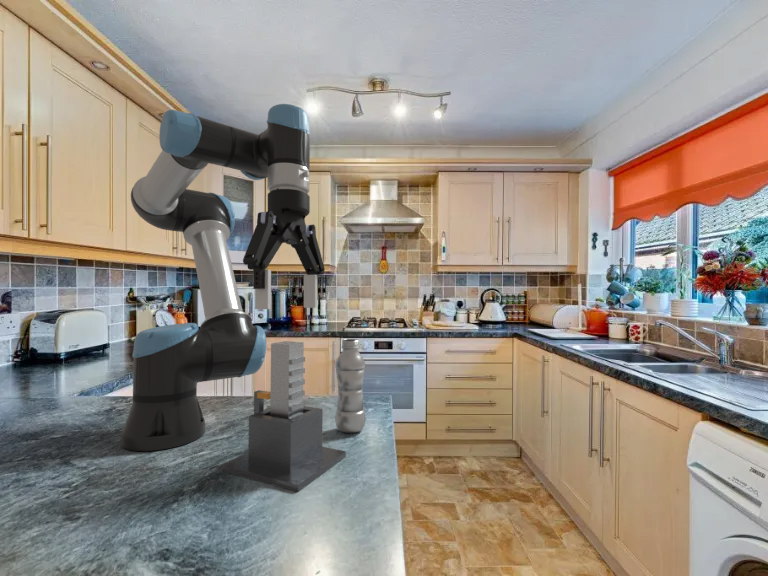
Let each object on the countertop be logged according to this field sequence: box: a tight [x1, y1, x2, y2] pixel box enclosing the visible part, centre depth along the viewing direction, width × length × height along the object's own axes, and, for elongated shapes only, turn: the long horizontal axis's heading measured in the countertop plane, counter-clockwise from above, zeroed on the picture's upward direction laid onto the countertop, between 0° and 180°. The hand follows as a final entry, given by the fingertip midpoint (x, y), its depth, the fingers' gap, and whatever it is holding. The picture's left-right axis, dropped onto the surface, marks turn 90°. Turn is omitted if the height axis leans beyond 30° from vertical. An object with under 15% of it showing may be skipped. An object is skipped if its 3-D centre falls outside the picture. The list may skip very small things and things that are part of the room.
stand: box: [221, 390, 347, 492], centre depth 68 cm, size 16×14×12 cm
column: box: [269, 340, 306, 420], centre depth 68 cm, size 5×4×20 cm
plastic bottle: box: [334, 338, 366, 434], centre depth 84 cm, size 6×7×20 cm
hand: (288, 308), depth 69 cm, fingers open, 13 cm apart
